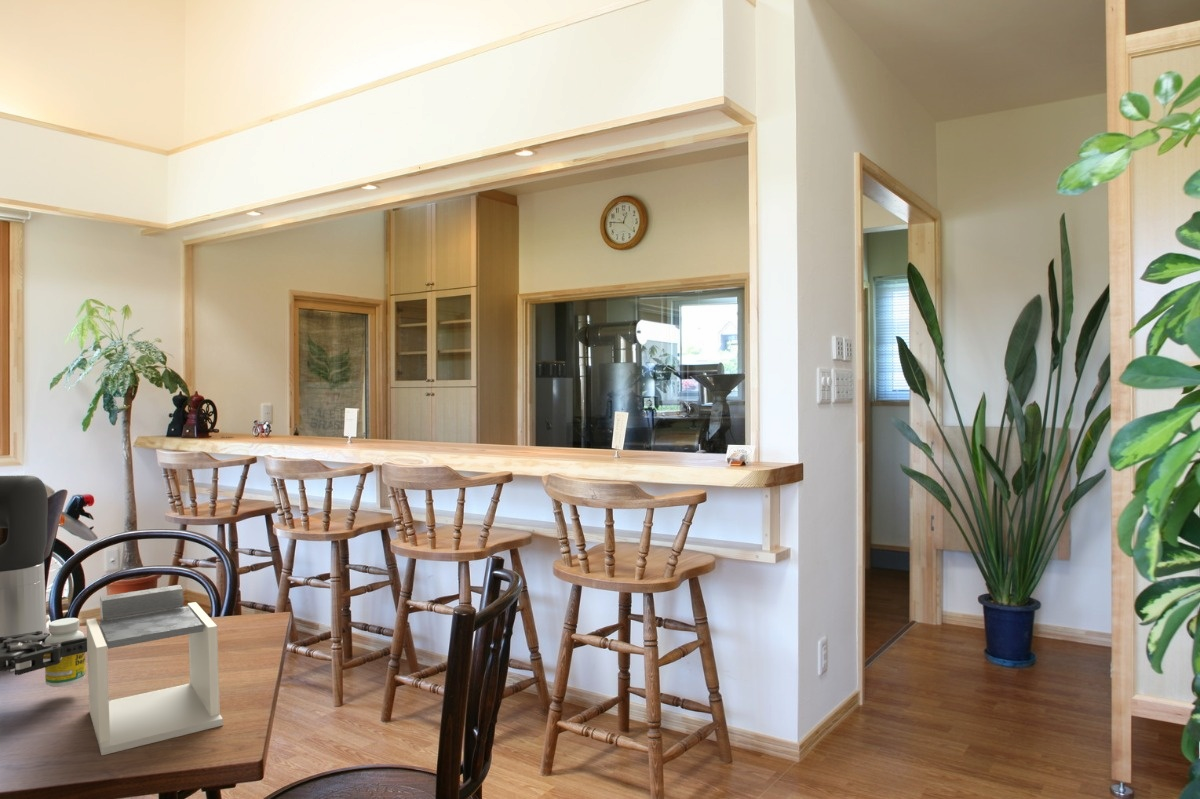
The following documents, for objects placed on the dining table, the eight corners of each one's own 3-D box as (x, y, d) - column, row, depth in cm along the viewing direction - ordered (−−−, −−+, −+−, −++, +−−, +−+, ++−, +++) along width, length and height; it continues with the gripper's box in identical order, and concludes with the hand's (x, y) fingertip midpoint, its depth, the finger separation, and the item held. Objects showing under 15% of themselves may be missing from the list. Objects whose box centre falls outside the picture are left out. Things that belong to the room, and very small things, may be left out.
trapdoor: (97, 622, 125) (96, 597, 125) (183, 608, 132) (182, 584, 132) (108, 649, 112) (107, 621, 112) (203, 632, 119) (202, 605, 119)
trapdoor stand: (89, 711, 123) (86, 619, 123) (198, 687, 132) (195, 601, 132) (101, 755, 109) (98, 651, 108) (222, 725, 117) (220, 629, 117)
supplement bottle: (51, 677, 131) (49, 618, 130) (89, 672, 132) (88, 614, 132) (41, 689, 126) (39, 628, 125) (81, 685, 127) (79, 624, 127)
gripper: (-42, 654, 113) (96, 625, 126) (-60, 631, 123) (70, 607, 135) (-40, 707, 114) (97, 673, 126) (-58, 680, 124) (72, 651, 136)
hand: (83, 639), depth 131 cm, fingers closed on supplement bottle, 5 cm apart
